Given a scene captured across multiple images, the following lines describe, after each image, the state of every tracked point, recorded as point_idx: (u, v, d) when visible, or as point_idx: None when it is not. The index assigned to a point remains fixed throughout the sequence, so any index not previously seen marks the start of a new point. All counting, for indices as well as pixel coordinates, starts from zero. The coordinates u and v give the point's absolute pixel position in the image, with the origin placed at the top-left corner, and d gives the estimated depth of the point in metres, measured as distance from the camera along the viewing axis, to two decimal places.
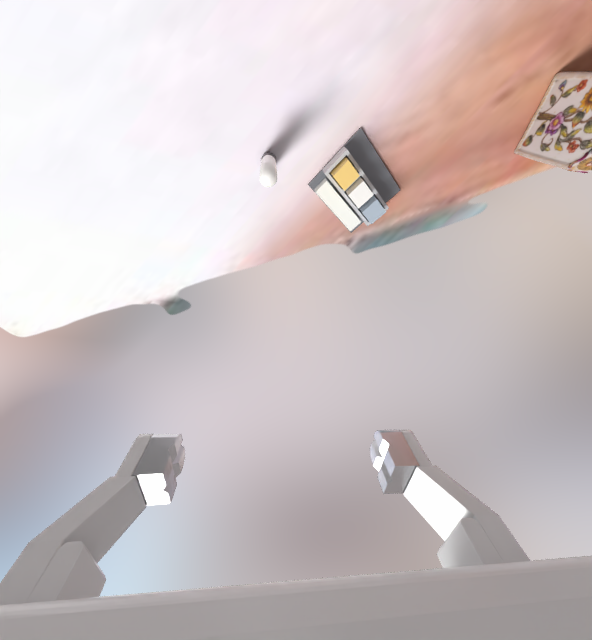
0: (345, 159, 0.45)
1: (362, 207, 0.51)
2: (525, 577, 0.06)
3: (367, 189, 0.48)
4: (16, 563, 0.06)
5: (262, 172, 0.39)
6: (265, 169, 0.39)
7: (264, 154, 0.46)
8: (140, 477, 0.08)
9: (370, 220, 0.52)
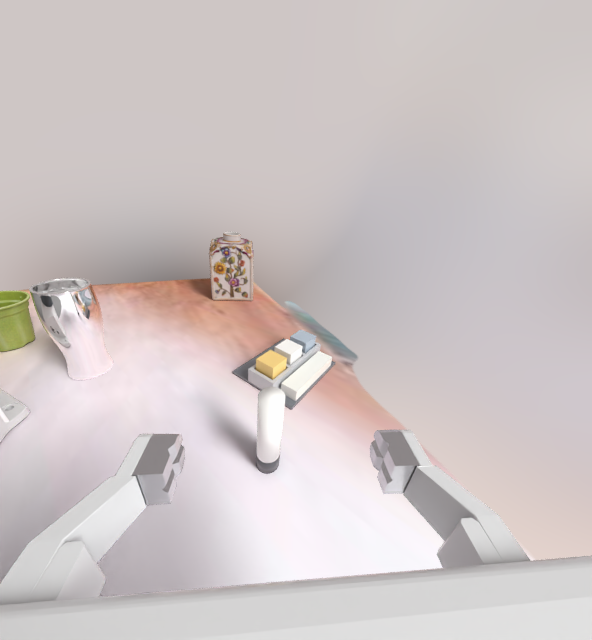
0: (257, 366, 0.41)
1: (302, 349, 0.47)
2: (525, 577, 0.06)
3: (282, 343, 0.45)
4: (16, 563, 0.06)
5: (264, 403, 0.24)
6: (260, 399, 0.25)
7: (258, 464, 0.29)
8: (140, 477, 0.08)
9: (312, 337, 0.48)
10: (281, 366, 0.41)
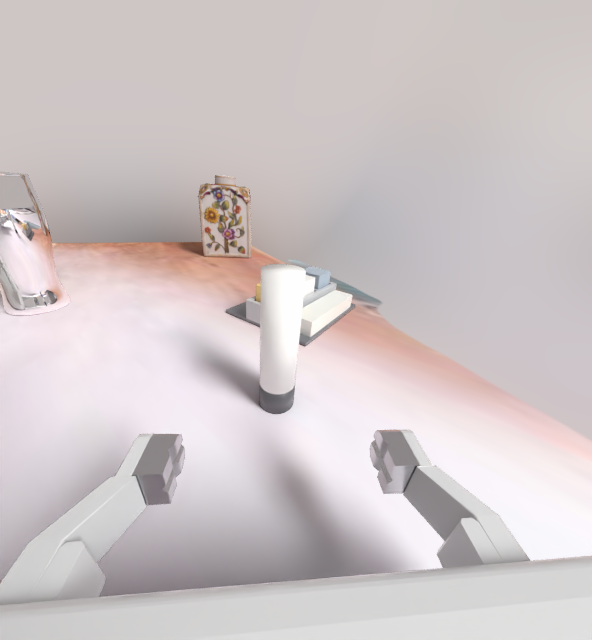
0: (257, 296, 0.31)
1: None
2: (525, 577, 0.06)
3: None
4: (16, 563, 0.06)
5: (271, 273, 0.14)
6: (264, 271, 0.15)
7: (262, 399, 0.19)
8: (140, 477, 0.08)
9: (326, 271, 0.38)
10: None
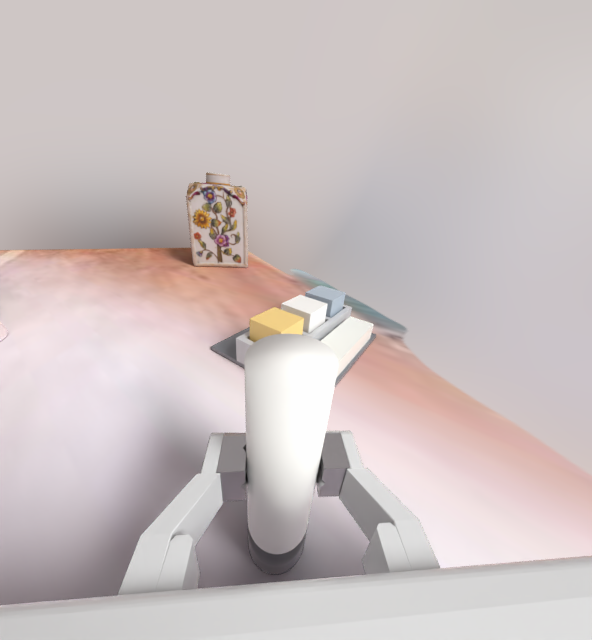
0: (251, 333, 0.23)
1: None
2: (525, 577, 0.06)
3: (294, 299, 0.27)
4: (135, 555, 0.06)
5: (267, 377, 0.06)
6: (251, 367, 0.07)
7: (252, 550, 0.11)
8: (223, 474, 0.08)
9: (340, 293, 0.30)
10: (295, 332, 0.23)
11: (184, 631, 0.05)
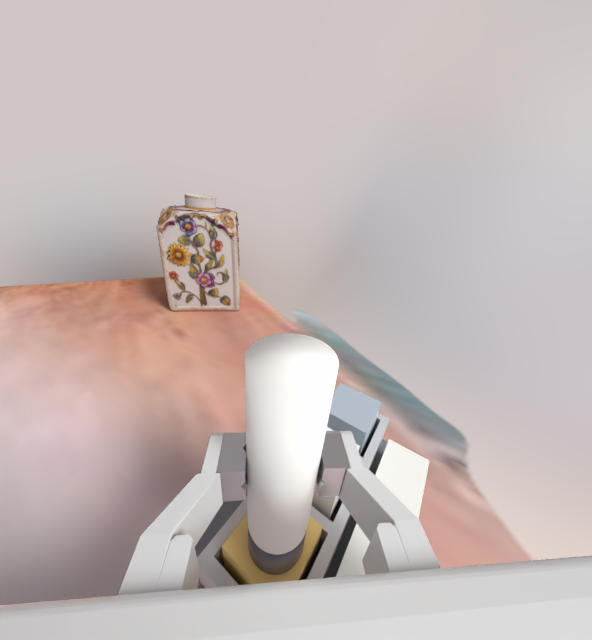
0: (227, 564, 0.12)
1: None
2: (525, 577, 0.06)
3: None
4: (135, 555, 0.06)
5: (267, 376, 0.06)
6: (251, 367, 0.07)
7: (251, 550, 0.11)
8: (223, 474, 0.08)
9: (374, 407, 0.19)
10: (307, 562, 0.12)
11: (184, 631, 0.05)
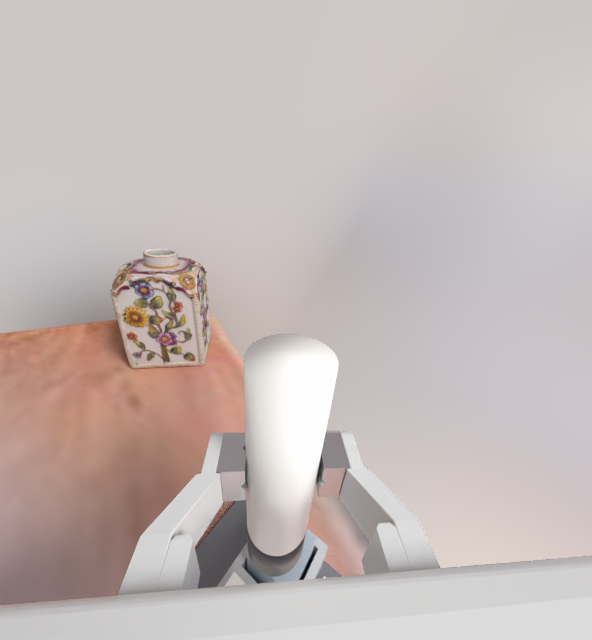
0: None
1: None
2: (525, 577, 0.06)
3: None
4: (135, 555, 0.06)
5: (266, 377, 0.06)
6: (250, 368, 0.07)
7: (251, 552, 0.11)
8: (223, 474, 0.08)
9: (306, 546, 0.18)
10: None
11: (184, 631, 0.05)
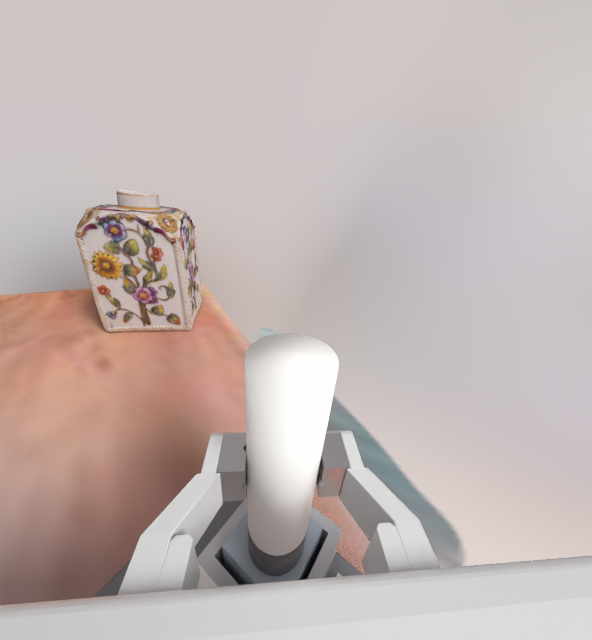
0: None
1: None
2: (525, 577, 0.06)
3: None
4: (135, 555, 0.06)
5: (266, 376, 0.06)
6: (251, 367, 0.07)
7: (251, 551, 0.11)
8: (223, 474, 0.08)
9: (308, 538, 0.12)
10: None
11: (184, 631, 0.05)
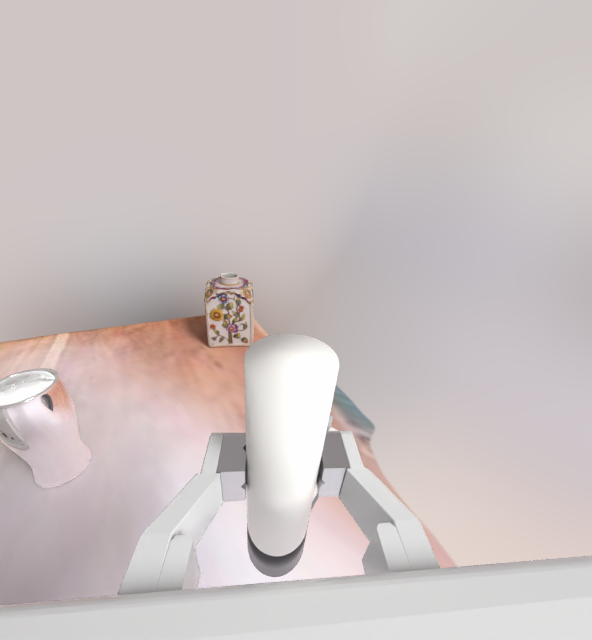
0: None
1: None
2: (525, 577, 0.06)
3: None
4: (135, 555, 0.06)
5: (266, 377, 0.06)
6: (251, 367, 0.07)
7: (251, 552, 0.11)
8: (223, 474, 0.08)
9: None
10: None
11: (184, 631, 0.05)
